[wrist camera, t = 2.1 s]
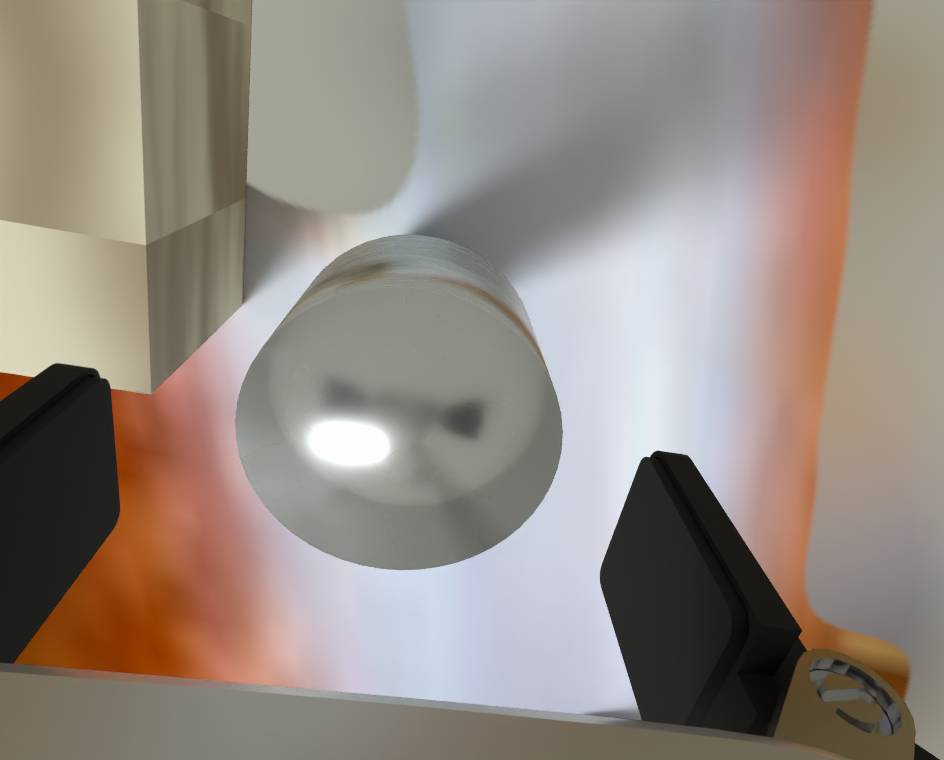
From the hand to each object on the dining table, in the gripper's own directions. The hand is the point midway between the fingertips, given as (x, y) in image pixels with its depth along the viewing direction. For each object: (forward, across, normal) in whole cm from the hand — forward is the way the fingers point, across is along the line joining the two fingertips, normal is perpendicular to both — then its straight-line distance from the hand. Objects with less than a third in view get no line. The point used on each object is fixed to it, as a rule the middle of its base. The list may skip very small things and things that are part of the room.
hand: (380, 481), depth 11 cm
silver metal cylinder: (+14, 0, +1) cm, 14 cm away
